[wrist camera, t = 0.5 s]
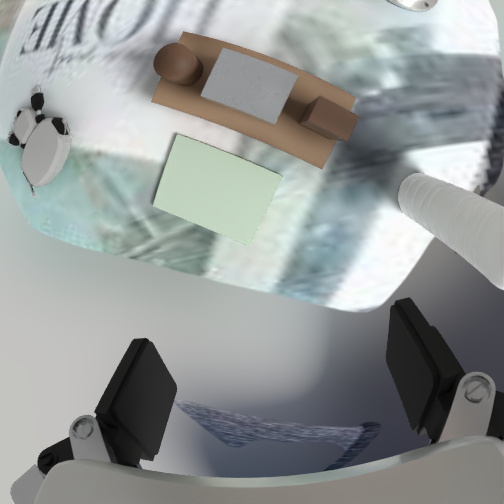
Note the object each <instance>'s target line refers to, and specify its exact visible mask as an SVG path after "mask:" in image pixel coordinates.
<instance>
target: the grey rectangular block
mask: <svg viewBox="0 0 504 504" xmlns="http://www.w3.org/2000/svg"><path fill="white" fill-rule="evenodd" d="M297 77H298V75H296V74H294V73H292V72H289V71H287V70H285V69H282V68H280V67H277V66H275V65H272V64H270V63H267V62H264V61H262V60H259V59H256V58H253V57H250V56H248V55H245V54H242V53H239V52H235V51H232V50H229V49H226V48H223V49H222V51H221V53H220V55H219V57H218V59H217V61H216V63H215V65H214V67H213V69H212V72H211V74H210V76H209V78H208V80H207V82H206V84H205V87H204V89H203V91H202V93H201V96H202V97H203V98H205V99H207V100H209V101H211V102H213V103H216V104H219V105H221V106H224V107H227V108H230V109H232V110H235V111H238V112H240V113H243V114H245V115H248V116H250V117H253V118H255V119H258V120H260V121H263V122H265V123H267V124H270V125H272V126H274V125H275V124H276V121H277V119H278V117H279V115H280V113H281V111H282V109H283V107H284V104H285V102H286V100H287V98H288V96H289V94H290V92H291V90H292V88H293V86H294V83H295V81H296V79H297Z"/></svg>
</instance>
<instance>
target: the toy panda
mask: <svg viewBox="0 0 504 504" xmlns="http://www.w3.org/2000/svg"><path fill="white" fill-rule="evenodd" d="M40 91H41V88H40V86H36V88H34V89H33V91H32V94H33V96H32V97H31V105H32V108H31V107H22V108H20V109H19V111H18V113H17V117H15V119H14V132H9V134H8V135H9V137H8V139H7V140H8V141H9V143H10V144H12V145H15V146H18V145H20V144H21V148H23V149H24V152H23V155H22V170H23V173H24V175H25V177H26V179H27V182H28V183H29V185H30V188H31V191H32V194H33V195H32V196H33V198H35V197H36V196H35V194H34V191H33V188H32V186H35V187H38V186H42V185H46V184H49V183H50V182H51V181H52V180H53V179H54V178H55V177H56V176H57V175H58V174H59V172H60V171H61V169H62V167H63V165H64V163H65V161H66V159H67V157H68V154H69V151H70V147H71V138H72V134H71V133H70V130H69V127H68V125H67V121H66V119H62V118H46V119H45V118H44V115H43V114H41V109H42V107H43V104H44V97H43V93H40Z"/></svg>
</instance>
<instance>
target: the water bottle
mask: <svg viewBox="0 0 504 504" xmlns="http://www.w3.org/2000/svg"><path fill="white" fill-rule="evenodd" d="M398 202H399V206H400V208H401V210H402V212H403V213H404V214H405V215H406V216H408V217H409V218H411V219H412V220H414V221H415V222H416V223H418V224H419V225H421V226H422V227H423V228H425V229H426V230H428V231H429V232H430V233H432V234H433V235H434V236H436V237H437V238H438V239H440V240H441V241H442V242H444V243H445V244H446V245H448V246H449V247H450V248H451V249H453V250H454V251H456V252H457V253H458V254H459V255H461V256H462V257H463V258H464V259H466V260H467V261H468V262H469V263H470V264H471V265H473V266H474V267H475V268H476V269H477V270H479V271H480V272H481V273H482V274H483V275H485V277H486V278H488V280H489V281H490V282H492V283H493V284H494V285H495V286H497V287H498V288H500V289H502V290H504V207H502V206H500V205H498V204H496V203H494V202H492V201H489V200H488V199H485V198H483V197H481V196H478V195H476V194H475V193H473V192H470V191H467V190H465V189H463V188H460V187H457V186H455V185H453V184H450V183H447V182H445V181H442V180H439V179H437V178H434V177H431V176H428V175H425V174H422V173H414V174H411V175H409V176H408V177H407V178H406V179H404V180H403V182H402V183H401V185H400V188H399V192H398Z"/></svg>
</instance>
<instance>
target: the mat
mask: <svg viewBox="0 0 504 504" xmlns="http://www.w3.org/2000/svg"><path fill="white" fill-rule="evenodd" d="M282 177H283V176H282V175H280V174H277V173H275V172H273V171H271V170H268V169H266V168H264V167H261V166H259V165H257V164H254V163H252V162H250V161H247V160H245V159H242V158H240V157H238V156H235V155H233V154H230V153H228V152H225V151H223V150H220V149H218V148H215V147H212V146H210V145H207V144H205V143H202V142H199V141H196V140H194V139H191V138H188V137H185V136H183V135H180V134H177V136H176V138H175V141H174V144H173V146H172V149H171V152H170V155H169V157H168V160H167V163H166V166H165V169H164V172H163V175H162V178H161V181H160V184H159V187H158V190H157V193H156V197H155V200H154V203H153V206H154V207H156V208H159V209H161V210H164V211H166V212H169V213H171V214H173V215H176V216H178V217H181V218H183V219H185V220H188V221H190V222H193V223H195V224H198V225H200V226H202V227H205V228H207V229H210V230H212V231H214V232H217V233H219V234H222V235H224V236H226V237H229V238H231V239H234V240H236V241H238V242H241V243H243V244H246V245H248V246H250V245H251V243H252V241H253V239H254V237H255V235H256V232H257V230H258V228H259V226H260V224H261V222H262V220H263V217H264V215H265V213H266V211H267V209H268V207H269V205H270V203H271V200H272V198H273V196H274V194H275V192H276V190H277V188H278V185H279V183H280V181H281V179H282Z"/></svg>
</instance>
